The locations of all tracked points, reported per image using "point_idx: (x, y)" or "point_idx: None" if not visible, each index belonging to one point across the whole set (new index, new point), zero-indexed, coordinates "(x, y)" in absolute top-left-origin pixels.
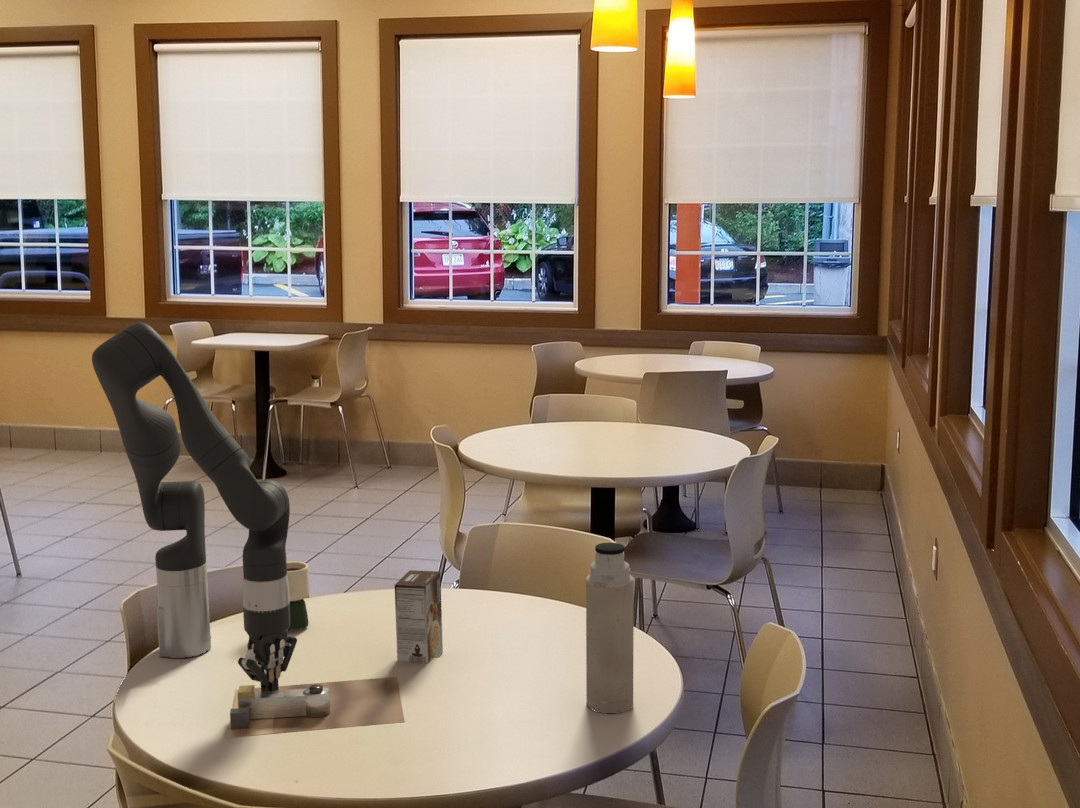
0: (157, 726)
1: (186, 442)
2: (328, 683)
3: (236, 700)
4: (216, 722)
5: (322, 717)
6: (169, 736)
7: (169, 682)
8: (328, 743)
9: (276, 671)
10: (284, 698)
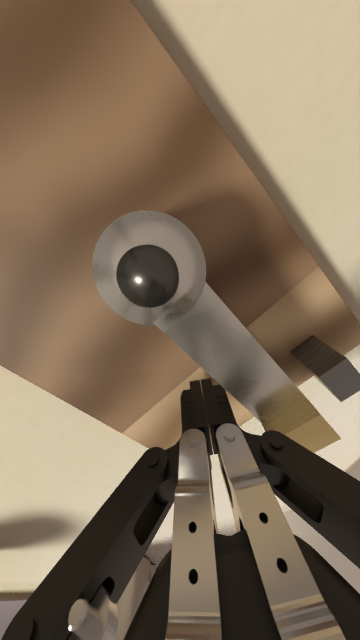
0: (323, 454)
1: None
2: (23, 371)
3: None
4: None
5: None
6: (349, 423)
7: None
8: (258, 91)
9: (204, 458)
10: (249, 332)
